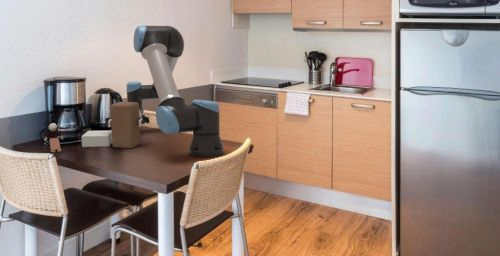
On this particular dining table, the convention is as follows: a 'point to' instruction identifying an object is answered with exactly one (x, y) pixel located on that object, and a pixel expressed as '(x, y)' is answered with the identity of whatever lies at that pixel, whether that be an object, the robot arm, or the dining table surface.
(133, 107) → the wooden block
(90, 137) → the base brick
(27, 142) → the dining table surface
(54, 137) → the grandmother figurine
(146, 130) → the dining table surface
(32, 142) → the dining table surface
